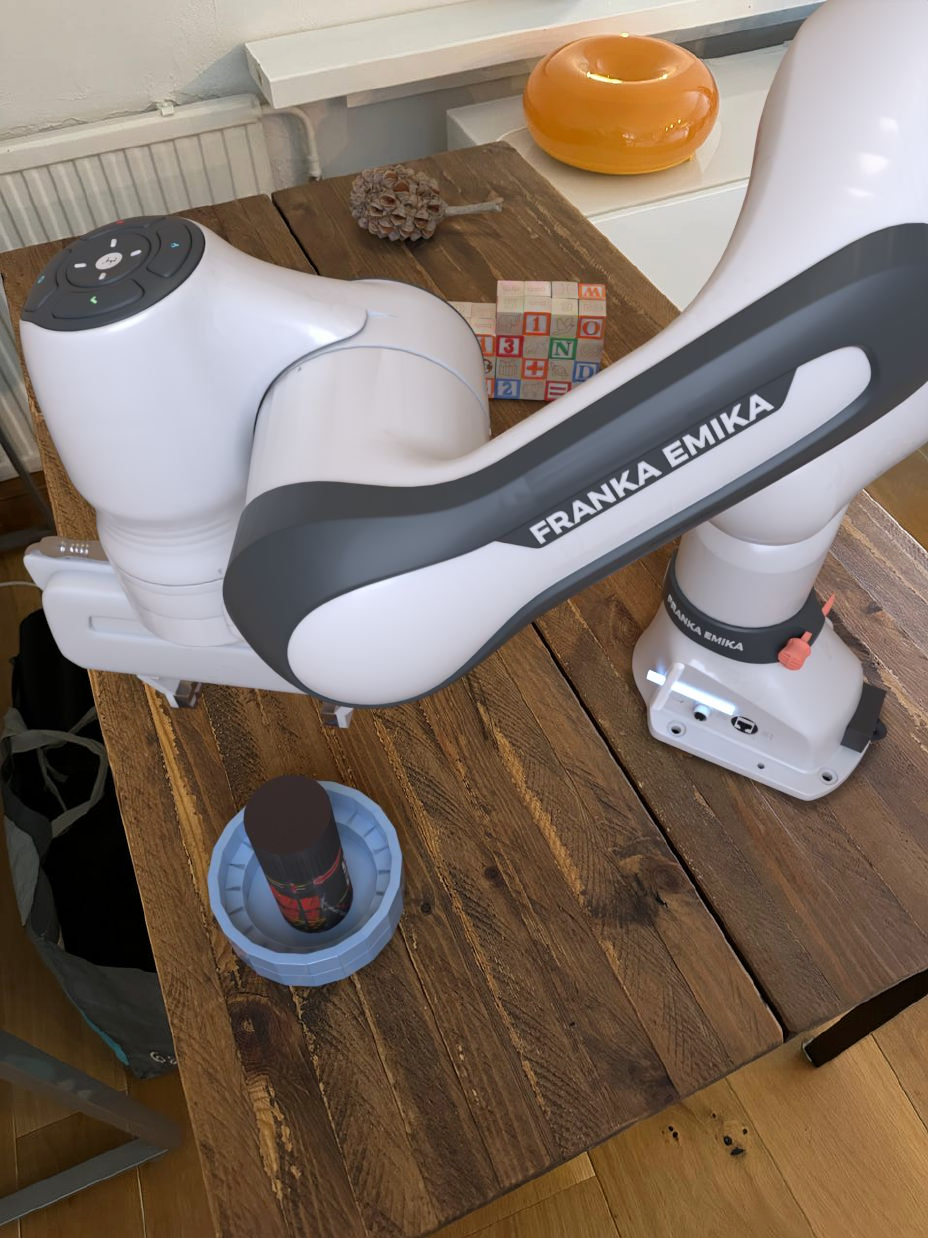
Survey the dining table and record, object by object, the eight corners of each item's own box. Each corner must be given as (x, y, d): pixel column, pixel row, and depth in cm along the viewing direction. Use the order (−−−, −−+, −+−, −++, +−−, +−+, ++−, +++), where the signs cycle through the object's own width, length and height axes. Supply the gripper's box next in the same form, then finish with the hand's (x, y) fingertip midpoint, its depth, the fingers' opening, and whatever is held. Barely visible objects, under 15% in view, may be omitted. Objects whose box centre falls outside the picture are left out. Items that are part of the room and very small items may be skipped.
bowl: (442, 882, 77) (440, 851, 73) (318, 1030, 70) (307, 1007, 66) (312, 782, 83) (303, 748, 78) (186, 911, 76) (167, 882, 71)
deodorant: (269, 880, 77) (232, 794, 65) (337, 850, 78) (314, 761, 66) (293, 946, 73) (258, 869, 62) (364, 914, 75) (344, 832, 63)
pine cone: (352, 258, 133) (345, 189, 125) (352, 221, 139) (345, 153, 131) (509, 250, 134) (511, 182, 126) (502, 214, 139) (504, 146, 132)
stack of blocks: (418, 396, 114) (413, 308, 105) (422, 364, 118) (418, 275, 108) (595, 403, 114) (607, 314, 104) (594, 370, 117) (606, 281, 108)
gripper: (-18, 583, 45) (79, 732, 56) (401, 628, 43) (418, 774, 54) (37, 490, 49) (118, 647, 60) (424, 528, 47) (436, 683, 58)
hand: (263, 708), depth 57 cm, fingers open, 8 cm apart
